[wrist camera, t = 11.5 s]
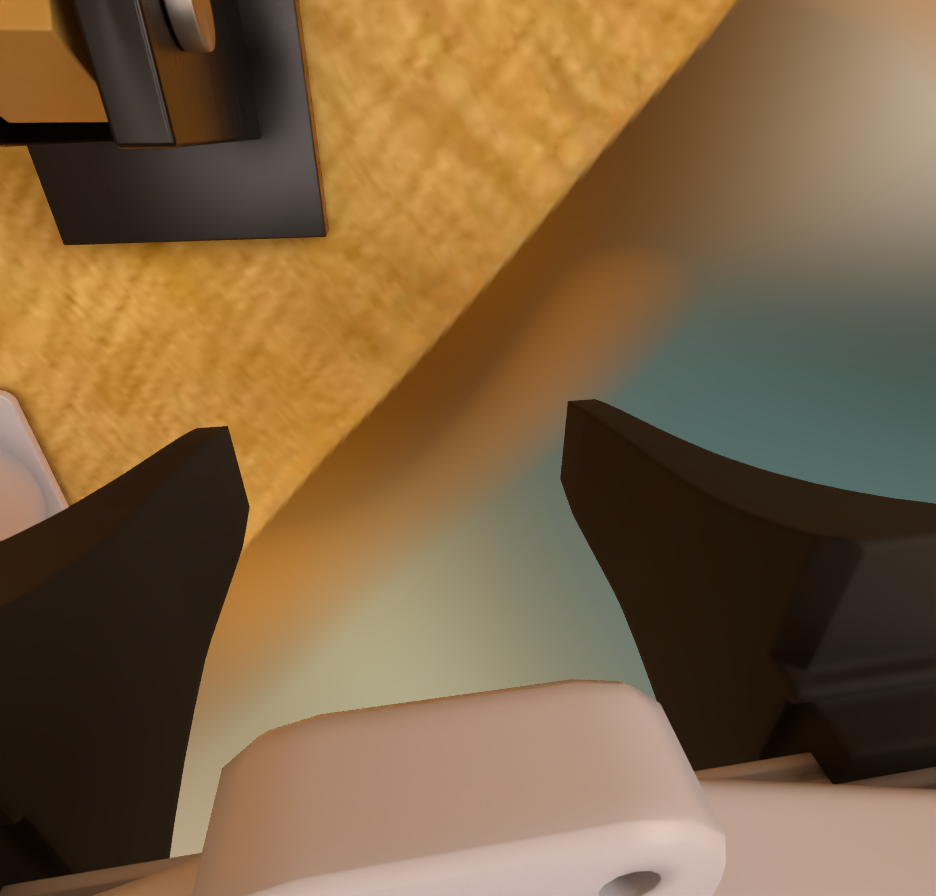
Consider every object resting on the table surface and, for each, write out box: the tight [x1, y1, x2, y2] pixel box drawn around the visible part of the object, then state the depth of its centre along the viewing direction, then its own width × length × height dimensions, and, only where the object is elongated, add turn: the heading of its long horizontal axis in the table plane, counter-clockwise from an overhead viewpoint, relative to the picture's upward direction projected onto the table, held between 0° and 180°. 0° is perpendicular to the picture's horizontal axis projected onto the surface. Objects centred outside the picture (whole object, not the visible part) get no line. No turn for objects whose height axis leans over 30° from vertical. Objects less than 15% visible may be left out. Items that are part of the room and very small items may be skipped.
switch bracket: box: [0, 0, 329, 245], centre depth 12 cm, size 10×8×9 cm
